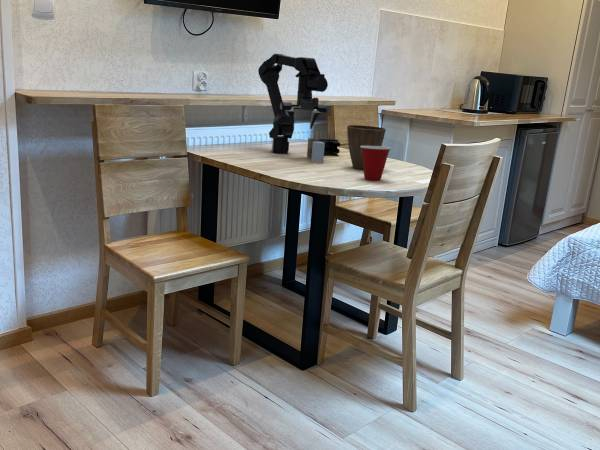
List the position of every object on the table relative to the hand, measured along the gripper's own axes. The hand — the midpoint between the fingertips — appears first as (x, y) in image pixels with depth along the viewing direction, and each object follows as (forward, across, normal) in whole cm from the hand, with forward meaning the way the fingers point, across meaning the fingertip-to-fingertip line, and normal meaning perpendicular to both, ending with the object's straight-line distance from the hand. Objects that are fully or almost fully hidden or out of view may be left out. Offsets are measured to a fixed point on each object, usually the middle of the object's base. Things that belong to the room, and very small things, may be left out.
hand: (301, 128), depth 243 cm
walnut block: (+12, +5, 0) cm, 13 cm away
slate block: (+12, +5, -9) cm, 16 cm away
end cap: (+12, +14, +12) cm, 22 cm away
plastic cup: (+12, +18, -41) cm, 47 cm away
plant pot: (+12, +21, -19) cm, 31 cm away
